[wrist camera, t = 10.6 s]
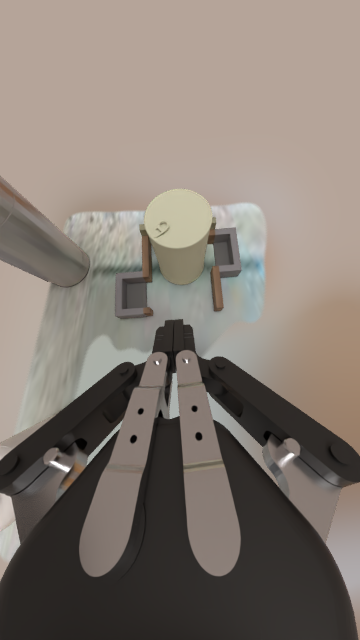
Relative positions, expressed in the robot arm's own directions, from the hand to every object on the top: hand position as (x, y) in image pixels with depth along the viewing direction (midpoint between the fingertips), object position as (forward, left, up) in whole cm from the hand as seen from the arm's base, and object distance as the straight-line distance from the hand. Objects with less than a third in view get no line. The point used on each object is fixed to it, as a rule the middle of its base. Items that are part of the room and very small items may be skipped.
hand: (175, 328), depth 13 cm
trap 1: (+9, +16, -16) cm, 24 cm away
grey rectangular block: (+1, +15, -16) cm, 22 cm away
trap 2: (-9, +9, -16) cm, 20 cm away
